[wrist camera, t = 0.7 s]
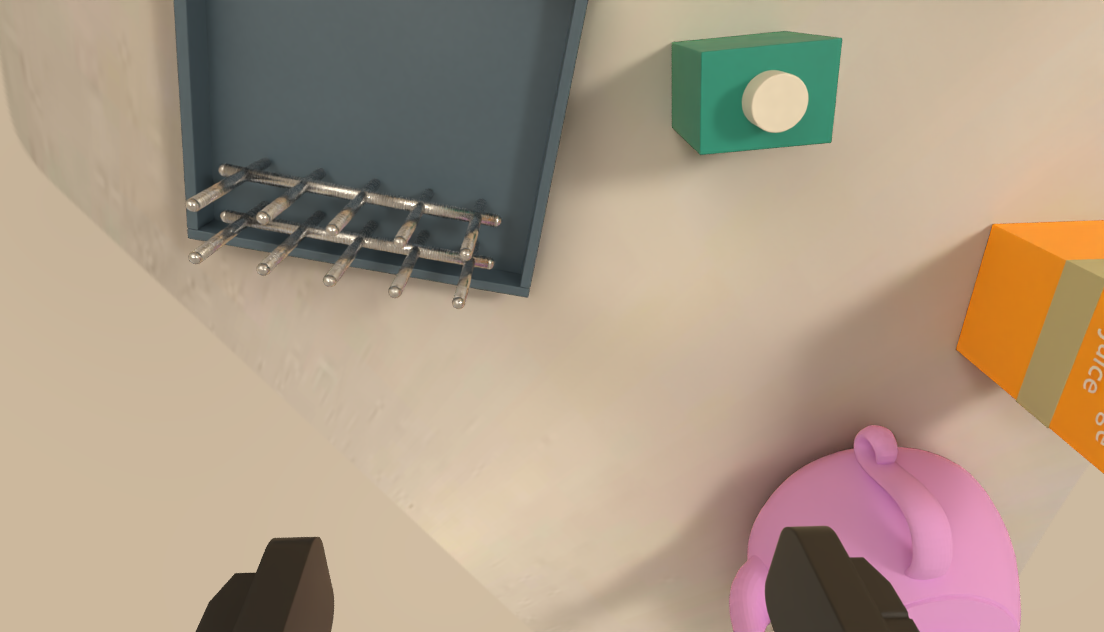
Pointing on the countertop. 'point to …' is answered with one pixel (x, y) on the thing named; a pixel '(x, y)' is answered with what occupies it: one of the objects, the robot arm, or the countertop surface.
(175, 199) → the countertop surface
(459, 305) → the dish rack
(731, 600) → the teapot
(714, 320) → the countertop surface
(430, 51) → the drip tray
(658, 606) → the countertop surface
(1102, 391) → the orange juice
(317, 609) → the robot arm
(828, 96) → the detergent bottle
